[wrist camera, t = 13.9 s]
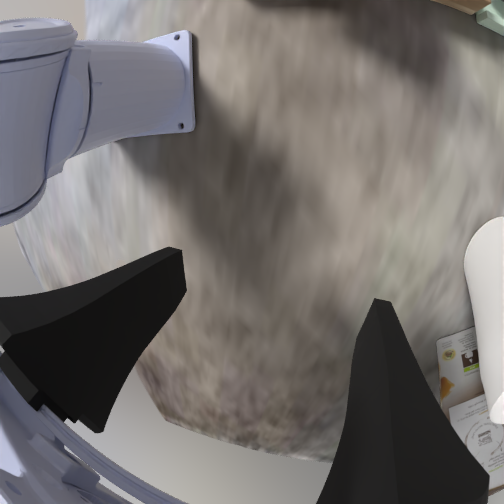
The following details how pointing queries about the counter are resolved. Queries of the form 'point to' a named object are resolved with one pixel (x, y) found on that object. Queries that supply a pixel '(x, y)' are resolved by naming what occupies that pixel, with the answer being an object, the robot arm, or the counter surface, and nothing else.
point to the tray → (492, 16)
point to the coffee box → (470, 403)
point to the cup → (488, 309)
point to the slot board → (466, 5)
